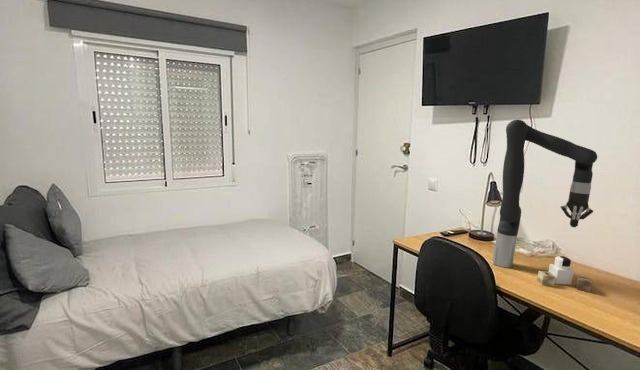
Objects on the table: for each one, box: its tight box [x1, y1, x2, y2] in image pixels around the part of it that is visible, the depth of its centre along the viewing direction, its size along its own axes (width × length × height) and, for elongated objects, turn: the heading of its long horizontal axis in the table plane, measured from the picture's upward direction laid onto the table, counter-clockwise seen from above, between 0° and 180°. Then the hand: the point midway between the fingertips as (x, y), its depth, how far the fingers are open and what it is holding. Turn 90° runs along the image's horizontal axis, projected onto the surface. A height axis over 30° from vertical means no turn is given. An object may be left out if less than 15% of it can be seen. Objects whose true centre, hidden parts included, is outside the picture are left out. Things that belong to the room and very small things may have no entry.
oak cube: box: [536, 270, 555, 287], centre depth 158 cm, size 5×5×5 cm
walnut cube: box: [575, 275, 593, 294], centre depth 153 cm, size 5×5×5 cm
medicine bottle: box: [547, 255, 574, 286], centre depth 160 cm, size 7×7×12 cm
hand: (573, 226), depth 161 cm, fingers closed
